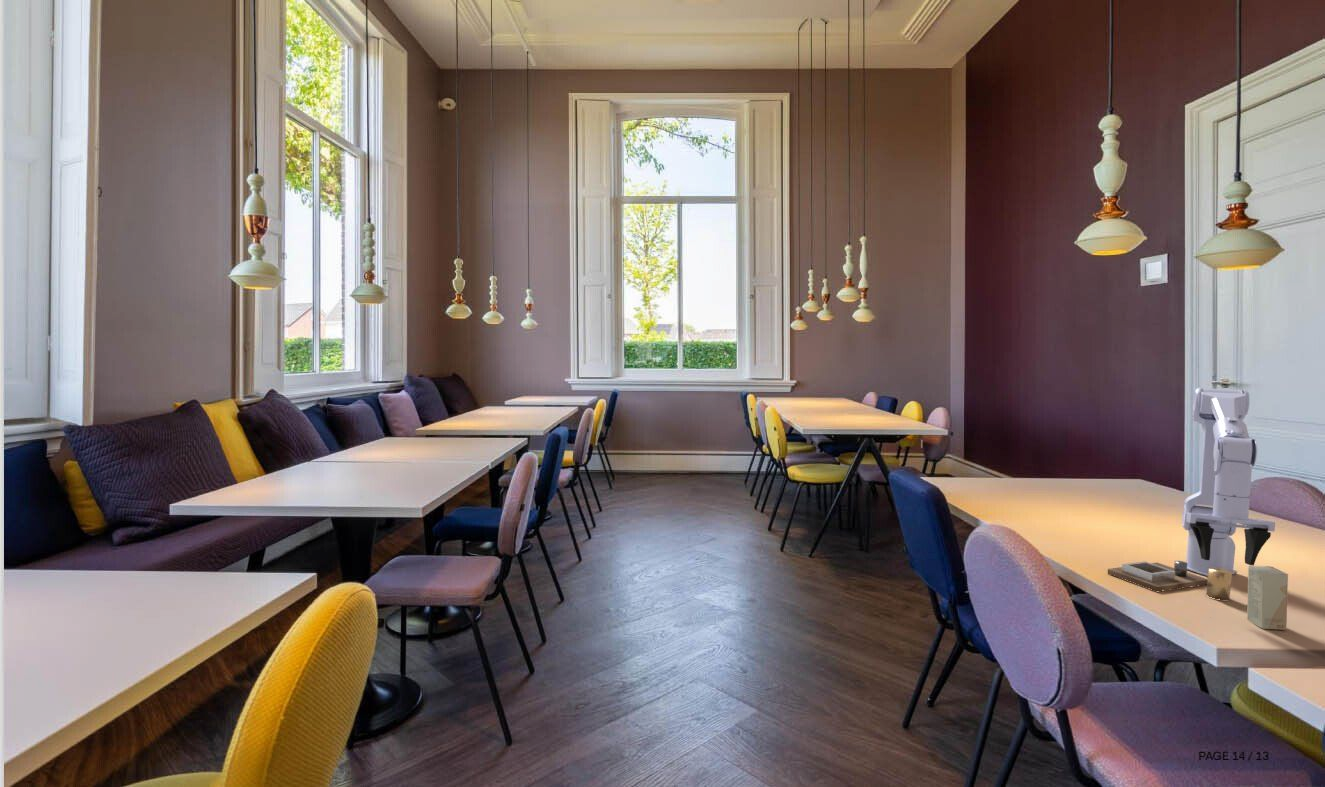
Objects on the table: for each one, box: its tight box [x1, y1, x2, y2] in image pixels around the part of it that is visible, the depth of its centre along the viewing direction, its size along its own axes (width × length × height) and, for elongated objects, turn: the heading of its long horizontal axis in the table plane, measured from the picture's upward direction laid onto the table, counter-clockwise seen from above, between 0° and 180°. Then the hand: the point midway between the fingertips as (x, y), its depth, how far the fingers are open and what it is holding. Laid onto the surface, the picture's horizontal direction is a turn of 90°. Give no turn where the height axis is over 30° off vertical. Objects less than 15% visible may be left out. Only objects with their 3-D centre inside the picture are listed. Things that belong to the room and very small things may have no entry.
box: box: [1246, 565, 1289, 631], centre depth 138 cm, size 5×4×11 cm
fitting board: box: [1107, 560, 1208, 592], centre depth 164 cm, size 16×12×4 cm
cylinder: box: [1205, 567, 1233, 601], centre depth 153 cm, size 4×4×6 cm
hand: (1227, 561), depth 145 cm, fingers open, 7 cm apart
